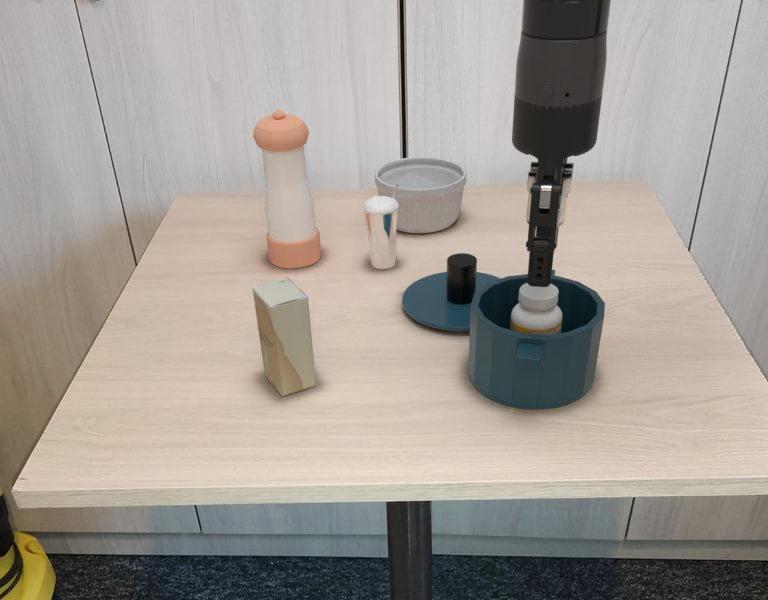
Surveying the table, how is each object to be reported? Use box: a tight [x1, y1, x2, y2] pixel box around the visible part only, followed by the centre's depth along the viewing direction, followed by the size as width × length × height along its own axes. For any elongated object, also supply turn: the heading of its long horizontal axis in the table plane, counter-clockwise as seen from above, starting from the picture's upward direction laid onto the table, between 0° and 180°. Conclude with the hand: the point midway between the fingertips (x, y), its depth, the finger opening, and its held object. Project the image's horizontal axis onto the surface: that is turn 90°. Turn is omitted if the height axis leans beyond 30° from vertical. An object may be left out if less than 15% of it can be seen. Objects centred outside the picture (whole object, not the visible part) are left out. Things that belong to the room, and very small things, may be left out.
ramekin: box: [374, 156, 467, 234], centre depth 119 cm, size 13×13×7 cm
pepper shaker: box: [252, 109, 322, 269], centre depth 107 cm, size 7×7×19 cm
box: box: [252, 277, 317, 397], centre depth 87 cm, size 5×4×11 cm
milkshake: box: [363, 184, 399, 270], centre depth 108 cm, size 4×5×10 cm
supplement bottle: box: [510, 283, 562, 335], centre depth 86 cm, size 5×5×10 cm
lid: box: [401, 252, 502, 332], centre depth 99 cm, size 15×15×6 cm
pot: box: [467, 269, 606, 410], centre depth 87 cm, size 14×19×8 cm
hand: (542, 265), depth 81 cm, fingers open, 8 cm apart
